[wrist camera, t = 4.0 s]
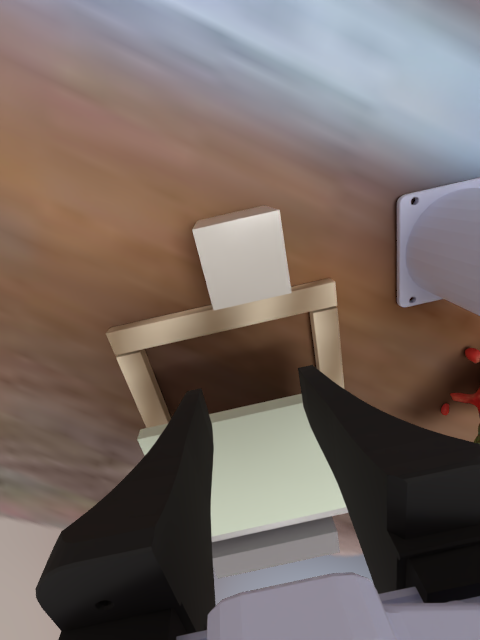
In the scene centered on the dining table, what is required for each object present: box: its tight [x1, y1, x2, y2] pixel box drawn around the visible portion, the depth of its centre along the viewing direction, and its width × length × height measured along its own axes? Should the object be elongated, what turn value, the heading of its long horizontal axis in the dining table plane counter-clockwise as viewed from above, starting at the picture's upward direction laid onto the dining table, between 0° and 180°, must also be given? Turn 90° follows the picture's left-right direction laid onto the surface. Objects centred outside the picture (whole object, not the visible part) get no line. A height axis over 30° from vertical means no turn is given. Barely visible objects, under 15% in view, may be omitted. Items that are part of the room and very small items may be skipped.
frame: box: [106, 278, 344, 428], centre depth 23 cm, size 16×20×7 cm
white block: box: [192, 205, 292, 310], centre depth 19 cm, size 4×4×5 cm
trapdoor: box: [137, 394, 348, 578], centre depth 20 cm, size 12×13×2 cm
